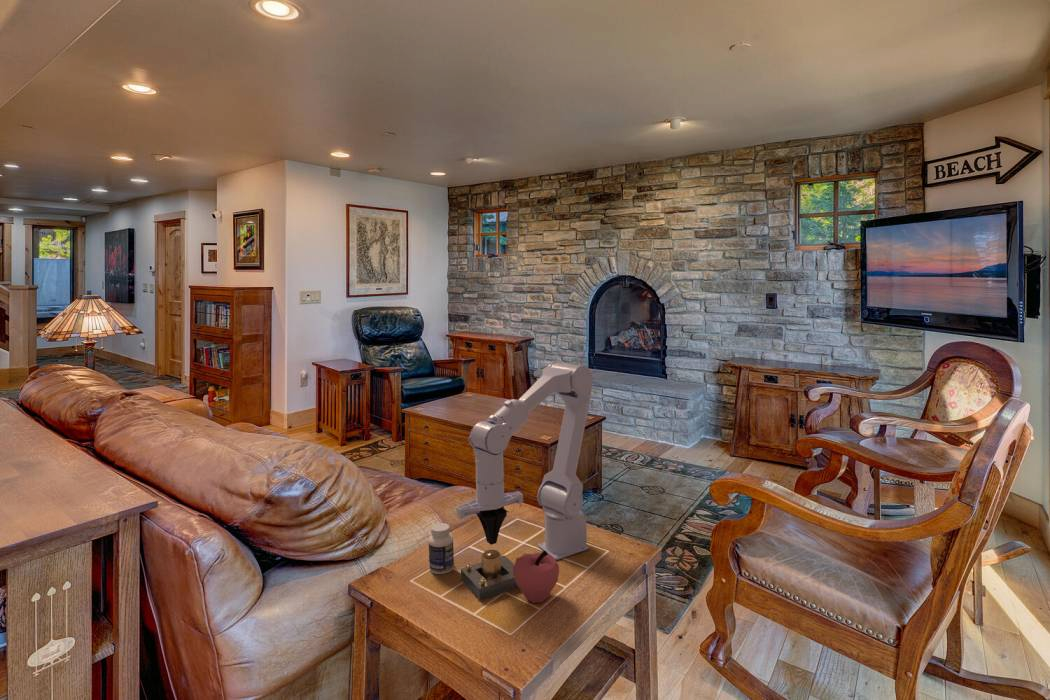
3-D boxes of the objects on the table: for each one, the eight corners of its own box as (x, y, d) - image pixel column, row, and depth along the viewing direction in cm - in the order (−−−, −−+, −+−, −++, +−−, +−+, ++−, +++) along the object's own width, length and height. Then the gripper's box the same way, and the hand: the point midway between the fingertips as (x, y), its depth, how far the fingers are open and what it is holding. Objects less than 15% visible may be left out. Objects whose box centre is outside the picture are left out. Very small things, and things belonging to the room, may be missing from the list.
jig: (504, 565, 123) (504, 551, 123) (525, 584, 116) (524, 569, 115) (461, 579, 118) (460, 564, 117) (479, 600, 110) (479, 584, 110)
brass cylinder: (497, 574, 120) (496, 547, 119) (504, 583, 116) (503, 555, 115) (480, 579, 118) (478, 551, 117) (487, 589, 114) (485, 560, 113)
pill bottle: (449, 576, 119) (447, 533, 118) (425, 573, 120) (424, 531, 119) (457, 563, 125) (455, 522, 123) (434, 561, 126) (433, 520, 124)
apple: (532, 581, 117) (531, 536, 116) (567, 594, 112) (567, 547, 111) (505, 603, 109) (503, 556, 108) (541, 618, 104) (541, 569, 103)
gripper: (511, 467, 121) (512, 526, 123) (449, 481, 113) (451, 543, 115) (527, 477, 115) (528, 538, 116) (463, 492, 107) (466, 557, 109)
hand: (491, 542), depth 115 cm, fingers closed
